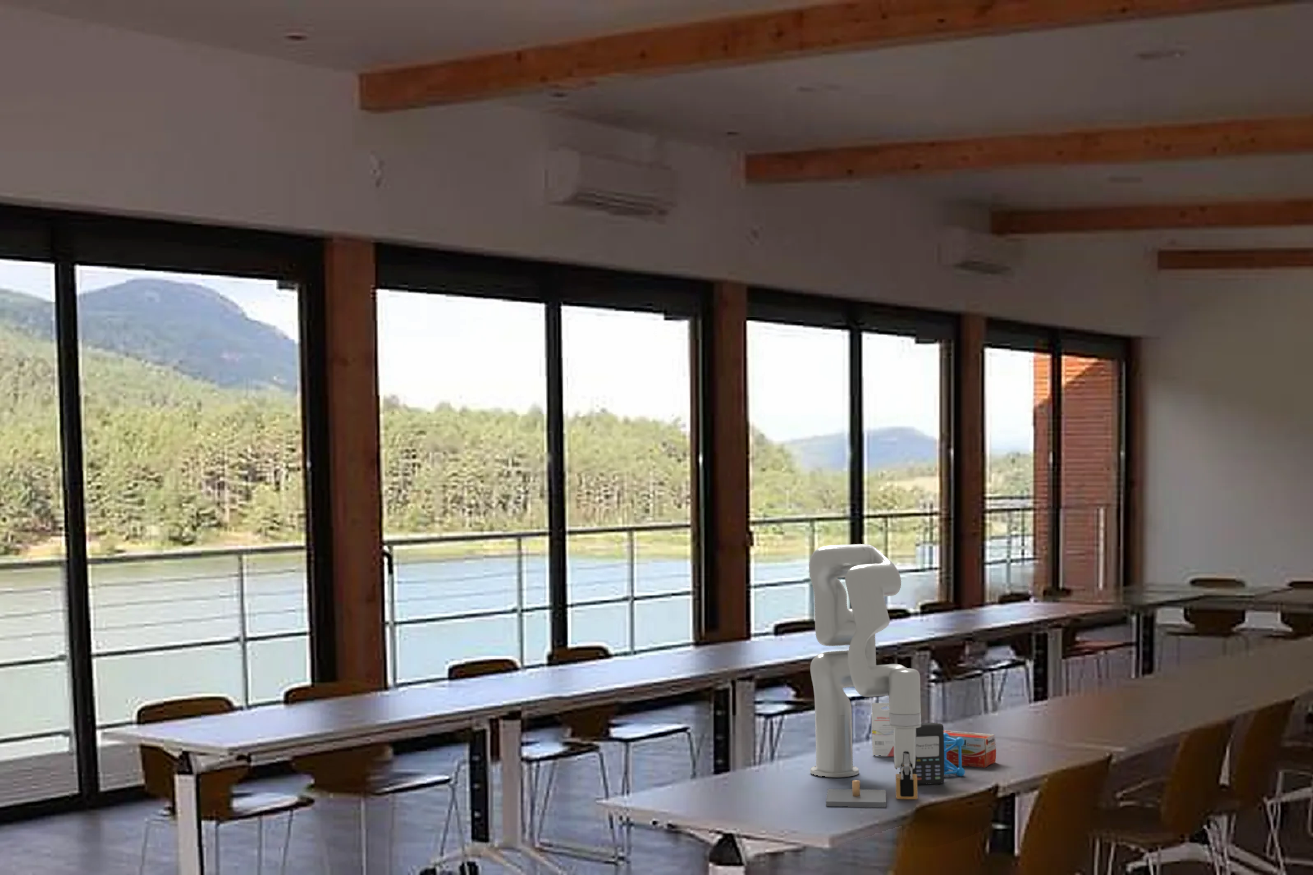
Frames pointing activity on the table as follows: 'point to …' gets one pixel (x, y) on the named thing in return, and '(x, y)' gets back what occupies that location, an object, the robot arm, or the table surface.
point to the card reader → (929, 754)
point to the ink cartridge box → (882, 731)
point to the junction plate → (856, 797)
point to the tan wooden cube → (898, 777)
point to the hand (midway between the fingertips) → (906, 792)
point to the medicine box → (973, 749)
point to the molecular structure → (959, 743)
